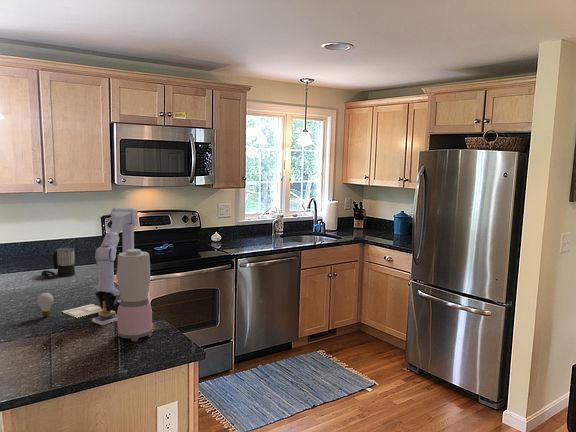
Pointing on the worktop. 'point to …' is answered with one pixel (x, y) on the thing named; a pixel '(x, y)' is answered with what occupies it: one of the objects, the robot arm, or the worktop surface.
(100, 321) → the ink pad
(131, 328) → the blender
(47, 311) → the light bulb
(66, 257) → the milk frother
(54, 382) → the worktop surface
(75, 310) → the card sheet
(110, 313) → the stamp
